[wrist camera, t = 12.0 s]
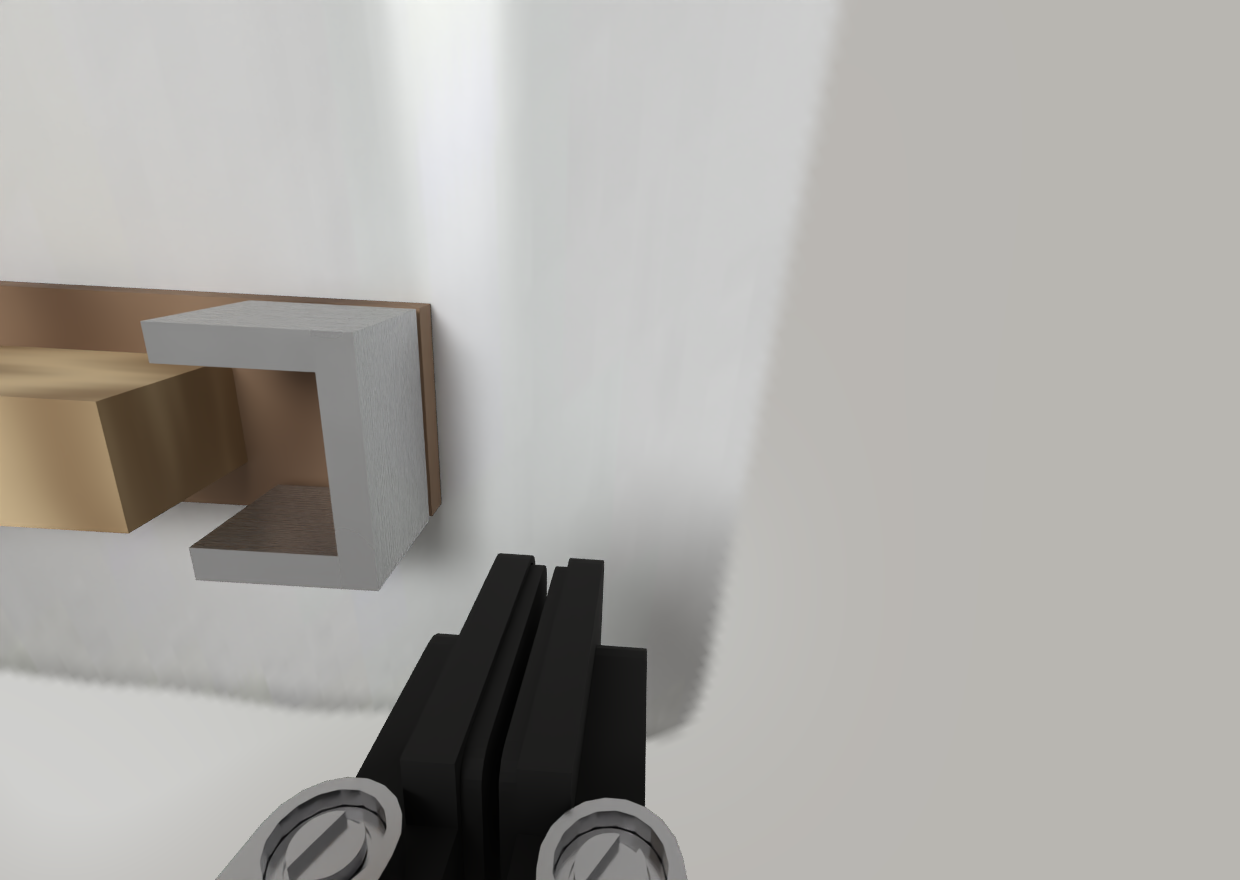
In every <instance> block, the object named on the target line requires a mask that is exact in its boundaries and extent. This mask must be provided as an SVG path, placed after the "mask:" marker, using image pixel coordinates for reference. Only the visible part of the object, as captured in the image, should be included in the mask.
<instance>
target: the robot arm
mask: <svg viewBox="0 0 1240 880" xmlns="http://www.w3.org/2000/svg"><path fill="white" fill-rule="evenodd" d="M603 580H604V560H590V559H576V558H570V559H569V563H568V567H559V566H556V567H555V570H554V573H553V577H552V580H551V584H550V587H549V591H548V594H547V569H546V566H544V565H535V558H534V556H532V555H517V554H503V553H500V554H498V555H497V557H496V559H495V561H494V563H493V565H492V567H491V569H490V571H489V574H488V576H487V578H486V580H485V582H484V584H483V586H482V588H481V590H480V592H479V595H478V597H477V599H476V601H475V603H474V605H473V607H472V609H471V611H470V613H469V616H468V618H467V620H466V622H465V624H464V626H463V628H462V630H461V632H460V634H459V635H453V634H439V633H438V634H436V635H434V636H433V637H432V639H431V640H430V641H429V643H428V645H427V647H426V648H425V650H424V652H423V654H422V656H421V658H420V659H419V661H418V663H417V665H416V667H415V669H414V671H413V672H412V674H411V676H410V678H409V680H408V682H407V683H406V685H405V687H404V689H403V691H402V693H401V695H400V696H399V698H398V700H397V702H396V704H395V706H394V707H393V709H392V711H391V713H390V715H389V717H388V719H387V720H386V722H385V724H384V726H383V728H382V730H381V731H380V733H379V735H378V737H377V739H376V741H375V743H374V744H373V746H372V748H371V750H370V752H369V754H368V755H367V758H366V759H365V761H364V763H363V765H362V767H361V768H360V770H359V772H358V774H357V776H356V778H354V777H346V778H341V779H334V780H329V781H325V782H322V783H320V784H317V785H315V786H312V787H310V788H307V789H305V790H303V791H301V792H300V793H298V794H297V795H295V796H294V797H292V798H291V799H289V800H287V801H286V802H284V803H283V804H281V805H280V806H279V807H278V808H277V809H276V810H275V811H274V812H273V813H272V814H271V815H270V816H269V817H268V818H267V819H266V820H265V821H264V822H263V823H262V824H261V825H260V827H258V829H257V830H256V831H255V832H254V833H253V835H252V836H251V837H250V838H249V840H248V841H247V842H246V843H245V845H244V846H243V847H242V848H241V849H240V850H239V852H238V853H237V854H236V855H235V856H234V858H233V859H232V860H231V861H230V863H229V864H228V865H227V866H226V867H225V869H224V870H223V871H222V872H221V873H220V875H219V876H218V877H217V878H216V879H215V880H687V875H686V871H685V865H684V860H683V857H682V854H681V851H680V848H679V846H678V843H677V840H676V837H675V836H674V835H673V833H672V832H671V831H670V829H669V828H668V827H667V825H666V824H665V823H664V821H663V820H662V819H661V818H659V817H658V816H657V815H655V814H654V813H653V812H651V811H650V810H649V809H647V808H646V807H645V755H646V753H645V752H646V679H647V649H644V648H631V647H617V646H603V645H601V625H602V603H603Z"/></svg>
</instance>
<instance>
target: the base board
mask: <svg viewBox="0 0 1240 880" xmlns="http://www.w3.org/2000/svg"><path fill="white" fill-rule="evenodd" d="M248 300H254V301H273V302H292V303H311V304H330V305H348V306H367V307H386V308H405V309H416V318H417V334H418V350H419V365H420V381H421V397H422V412H423V428H424V443H425V459H426V475H427V490H428V506H429V516H433V514H434V513H435V512H436V510H437V509H438V507H439V506H440V505H441V488H440V470H439V452H438V434H437V416H436V399H435V381H434V363H433V345H432V327H431V309H430V304H425V303H406V302H387V301H368V300H349V299H330V298H311V297H292V296H274V295H255V294H236V293H217V292H198V291H179V290H160V289H141V288H122V287H103V286H85V285H66V284H47V283H28V282H9V281H0V345H2V346H20V347H38V348H56V349H75V350H93V351H111V352H129V353H147V350H146V346H145V341H144V336H143V332H142V327H141V322H140V321H143V320H149V319H154V318H159V317H164V316H170V315H175V314H180V313H185V312H191V311H196V310H201V309H206V308H212V307H217V306H222V305H227V304H233V303H238V302H243V301H248ZM232 370H233V376H234V382H235V387H236V393H237V399H238V405H239V411H240V417H241V423H242V429H243V435H244V441H245V447H246V453H247V459H248V462H247V463H245V464H243V465H242V466H240V467H238V468H237V469H235V470H233V471H232V472H230V473H228V474H227V475H225V476H223V477H222V478H220V479H218V480H217V481H215V482H213V483H212V484H210V485H208V486H207V487H205V488H203V489H202V490H200V491H198V492H197V493H195V494H193V495H192V496H190V497H188V498H187V499H185V500H183V501H182V502H199V503H216V504H233V505H250V504H251V503H252V502H254V501H255V500H257V499H258V498H259V497H261V496H262V495H264V494H265V493H266V492H268V491H269V490H271V489H272V488H274V487H275V486H276V485H278V484H281V485H298V486H316V487H329V480H328V472H327V463H326V455H325V447H324V439H323V431H322V423H321V415H320V407H319V398H318V390H317V382H316V374H315V372H301V371H283V370H264V369H246V368H232Z"/></svg>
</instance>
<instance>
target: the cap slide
mask: <svg viewBox="0 0 1240 880" xmlns="http://www.w3.org/2000/svg"><path fill="white" fill-rule="evenodd" d="M140 322H141V327H142V332H143V336H144V341H145V346H146V350H147V355H148V359H149V363H154V364H173V365H191V366H209V367H228V368H246V369H264V370H283V371H301V372H315V374H316V382H317V390H318V398H319V407H320V415H321V423H322V431H323V439H324V447H325V455H326V463H327V472H328V480H329V487H316V486H298V485H281V484H278V485H276V486H275V487H274V488H272V489H271V490H269V491H268V492H266V493H265V494H264V495H262V496H261V497H259V498H258V499H257V500H255V501H254V502H252V503H251V504H250V505H248V506H247V507H245V508H244V509H243V510H241V511H240V512H238V513H237V514H236V515H234V516H233V517H231V518H230V519H229V520H227V521H226V522H224V523H223V524H222V525H220V526H219V527H217V528H216V529H215V530H213V531H212V532H210V533H209V534H208V535H206V536H205V537H203V538H202V539H201V540H199V541H198V542H196V543H195V544H194V545H192V546H191V547H189V550H190V554H191V559H192V563H193V568H194V573H195V577H196V580H203V581H220V582H236V583H253V584H270V585H287V586H304V587H320V588H337V589H354V590H371V591H379V590H380V588H381V587H382V585H383V584H384V583H385V581H386V580H387V578H388V577H389V576H390V574H391V573H392V571H393V570H394V569H395V567H396V566H397V565H398V563H399V562H400V560H401V559H402V558H403V556H404V555H405V553H406V552H407V551H408V549H409V548H410V546H411V545H412V544H413V542H414V541H415V539H416V538H417V537H418V535H419V534H420V532H421V531H422V530H423V528H424V527H425V525H426V524H427V523H428V521H429V506H428V490H427V475H426V459H425V443H424V428H423V412H422V397H421V381H420V365H419V350H418V334H417V318H416V309H405V308H386V307H367V306H348V305H330V304H311V303H292V302H273V301H254V300H248V301H243V302H238V303H233V304H227V305H222V306H217V307H212V308H206V309H201V310H196V311H191V312H185V313H180V314H175V315H170V316H164V317H159V318H154V319H149V320H143V321H140Z"/></svg>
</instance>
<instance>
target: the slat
mask: <svg viewBox="0 0 1240 880" xmlns="http://www.w3.org/2000/svg"><path fill="white" fill-rule="evenodd" d="M247 462H248V459H247V453H246V447H245V441H244V435H243V429H242V423H241V417H240V411H239V405H238V399H237V393H236V387H235V382H234V376H233V370H232V368H228V367H209V366H191V365H173V364H154V363H149V359H148V355H147V353H129V352H111V351H93V350H75V349H56V348H38V347H20V346H2V345H0V526H12V527H29V528H45V529H62V530H79V531H96V532H113V533H130V532H132V531H133V530H135V529H137V528H138V527H140V526H142V525H143V524H145V523H147V522H148V521H150V520H152V519H153V518H155V517H157V516H158V515H160V514H162V513H163V512H165V511H167V510H168V509H170V508H172V507H173V506H175V505H177V504H178V503H180V502H182V501H183V500H185V499H187V498H188V497H190V496H192V495H193V494H195V493H197V492H198V491H200V490H202V489H203V488H205V487H207V486H208V485H210V484H212V483H213V482H215V481H217V480H218V479H220V478H222V477H223V476H225V475H227V474H228V473H230V472H232V471H233V470H235V469H237V468H238V467H240V466H242V465H243V464H245V463H247Z"/></svg>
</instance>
